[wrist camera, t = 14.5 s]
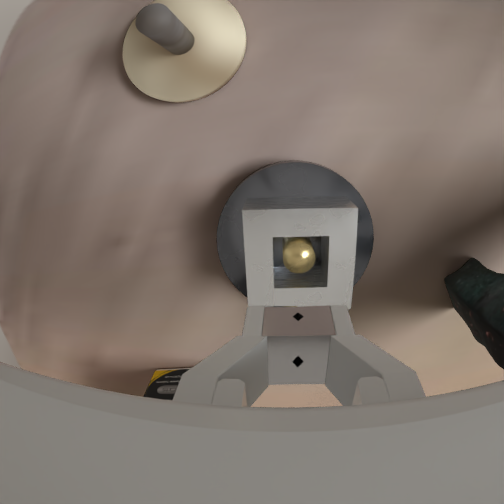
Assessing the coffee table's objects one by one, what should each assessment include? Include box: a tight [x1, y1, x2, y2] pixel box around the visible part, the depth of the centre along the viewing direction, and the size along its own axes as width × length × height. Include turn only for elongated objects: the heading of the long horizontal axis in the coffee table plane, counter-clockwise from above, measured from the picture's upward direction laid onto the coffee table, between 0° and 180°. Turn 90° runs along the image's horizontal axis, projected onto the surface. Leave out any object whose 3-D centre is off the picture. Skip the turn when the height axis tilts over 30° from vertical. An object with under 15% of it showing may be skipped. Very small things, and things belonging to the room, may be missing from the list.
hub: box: [217, 161, 374, 297], centre depth 20 cm, size 10×10×4 cm
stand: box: [123, 0, 247, 103], centre depth 15 cm, size 8×8×6 cm
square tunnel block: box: [242, 196, 358, 309], centre depth 19 cm, size 6×6×3 cm
